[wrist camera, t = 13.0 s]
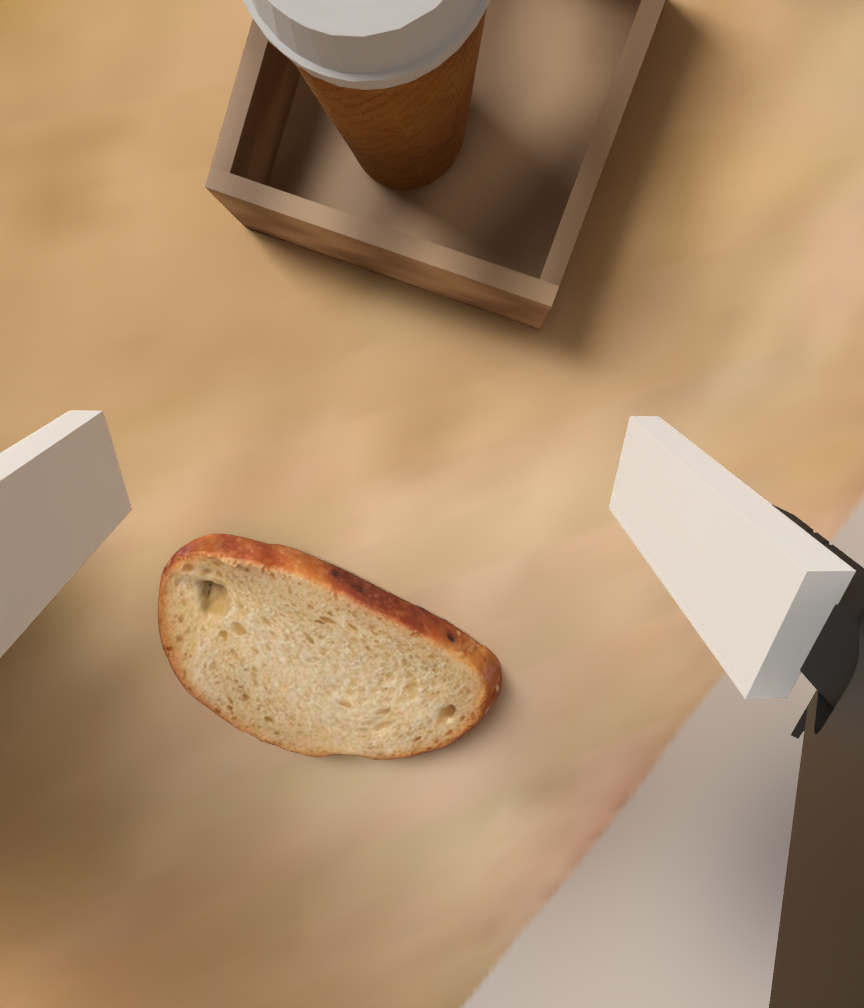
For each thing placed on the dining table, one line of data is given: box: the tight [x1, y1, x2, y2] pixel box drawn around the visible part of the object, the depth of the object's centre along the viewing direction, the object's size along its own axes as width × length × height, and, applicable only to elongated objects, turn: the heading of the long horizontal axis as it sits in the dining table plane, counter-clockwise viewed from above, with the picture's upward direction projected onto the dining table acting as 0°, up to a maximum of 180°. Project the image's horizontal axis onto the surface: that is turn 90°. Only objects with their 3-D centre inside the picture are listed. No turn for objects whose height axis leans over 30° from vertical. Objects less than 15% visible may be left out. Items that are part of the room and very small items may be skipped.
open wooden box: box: [205, 0, 665, 329], centre depth 26 cm, size 18×18×4 cm
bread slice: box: [158, 534, 502, 760], centre depth 30 cm, size 18×18×4 cm
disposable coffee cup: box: [244, 0, 490, 190], centre depth 22 cm, size 10×10×12 cm
